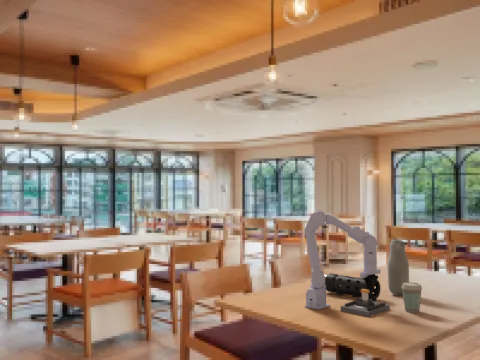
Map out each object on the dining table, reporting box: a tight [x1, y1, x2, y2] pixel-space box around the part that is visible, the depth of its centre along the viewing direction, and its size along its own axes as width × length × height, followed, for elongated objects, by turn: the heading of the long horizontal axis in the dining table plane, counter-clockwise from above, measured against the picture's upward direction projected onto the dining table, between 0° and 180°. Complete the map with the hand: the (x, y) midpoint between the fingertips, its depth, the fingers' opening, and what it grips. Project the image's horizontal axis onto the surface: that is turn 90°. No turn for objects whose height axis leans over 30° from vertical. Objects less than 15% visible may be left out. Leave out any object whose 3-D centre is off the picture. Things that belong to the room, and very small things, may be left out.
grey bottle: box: [386, 239, 410, 296], centre depth 232 cm, size 10×10×28 cm
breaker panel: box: [340, 297, 391, 318], centre depth 204 cm, size 18×14×5 cm
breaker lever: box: [361, 289, 369, 301], centre depth 204 cm, size 2×3×4 cm, turn 44°
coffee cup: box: [402, 281, 423, 314], centre depth 201 cm, size 8×8×12 cm
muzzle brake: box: [324, 272, 381, 301], centre depth 230 cm, size 10×28×10 cm, turn 48°
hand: (370, 291), depth 208 cm, fingers closed
